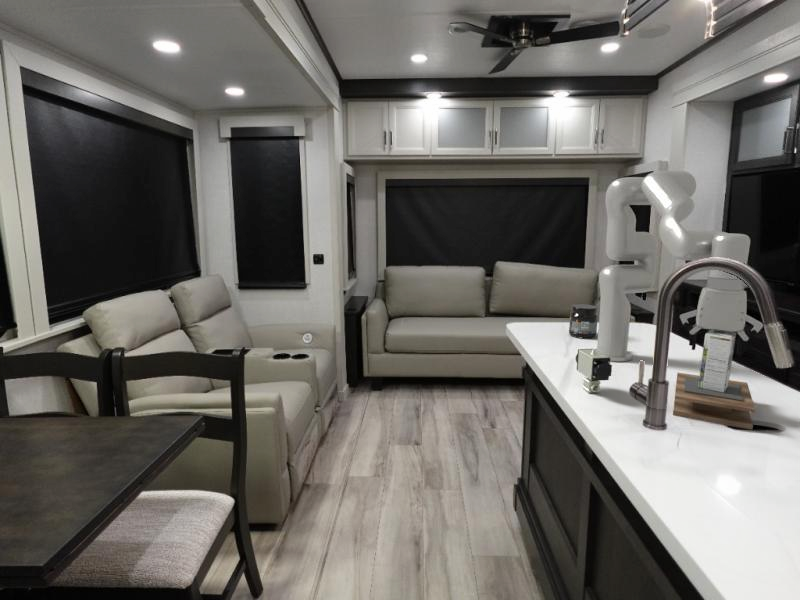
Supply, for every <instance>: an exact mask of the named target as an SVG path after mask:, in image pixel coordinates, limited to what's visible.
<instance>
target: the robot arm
mask: <svg viewBox="0 0 800 600" xmlns="http://www.w3.org/2000/svg"><path fill="white" fill-rule="evenodd" d="M696 190H697V180H696V178H695V176H694V175H693V174H692V173H690V172H688V171H685V170H658V171H652V172H650V173H648V174H647V175H646V176H644V177H643V176H642V177H641V176H639V177H638V176H631V177H629V176H627V177H621V178H618V179H615V180H613V181H612V182H611V183H610V184H609V185H608V187H607V189H606V193H605V209H606V213H607V214H606V215H607V224H606V225H607V226H606V240H605V241H606V243H605V253H606V256H607V258H608V259H610V260H611V261H617V262H619V261H621V262H622V261H623V262H626V261H627V262H628V261H629V262H631V261H632V262H634V264H612V265H608V266H606V267H604V268H602V269H601V271H600V272H599V275H598V282H599V283H598V284H599V292H600V304H599V305H600V306H599V316H598V329H597V331H598V332H597V346H596V348H594V349H595V350H596V351H598V352H600V353H604V354H606V356H607V357H609V358H610V362H628V361H631V360H632V357H633V355H632V354H631V353H630V352H629V351H628V346H629V334H630V332H629V331H630V322H631V311H632V310H631V304H630V303H631V302H630V300H629V299H628V297H627V296H626V294H637V293H639V294H640V293H647V292H649V291H650V290H652V289H653V286H654V284H655V281H656V273H657V260H658V241H657V239H656V237H655V236H654V235H653V234H652V233H650V232H647V231H636V224H637V218H636V214H635V213H634V211H633V209H632V208H631V206H634V205H635V206H652V207H653V208H654V210H655V211H656V212H657V214H658V215H659V216H660V217H661V218H660V221H659V225H658V233H659V235H658V236H659V238H660V241H661V243H662V244H663V246H664V247H665V248H666V250H667V251H668V252H669V254H670V255H671V256H672V257H674V258H675V259H677V260H680V261H687V262H688V261H700V260H699V259H703V258H709V257H725V258H731V259H734V260H738V261H740V262H742V263H745V264H746V265H747V266H748V259H749V253H750V246H751V238H750V236H748V235H747V234H744V233H734V232H733V233H731V232H730V233H728V232H725V231H721V230H686V229H685V228H684V227H683V225H682V223H681V222H683V221H684V220H686V219H687V218H688V217H689V216H690V215H691V214H692V213H693V211H694V208H695V203H694V199H692V196H694V194H695V192H696ZM746 288H749V287H748V286H747V285H746V284H745V283H744V282H743V281H742V280H740V279H739V278H737V277H736V276H734V275H731V274H729V273H726V272H723V271H719V270H709V269H708V272H707V281H706V286H705V287H702V289H701V291H700V295H699V298H698V302H697V303H698V304H697V309H693V310H691V311H687V312H685V313H682V314H680V315H679V319H680V321H681V323H682V326H683V327H684V328H685V329H686V330H687V332H688V333H689V334H690V335H689V341H688V342H689V343H688V346H689V347H690V346H691V350H693V351H695V350H696V347H697V340H698V332H699V331H700V330H701V329H704V330H710V329H711V330H720V331H729V332H733V333H736V334H737V335H739V338H738V341H737V346H736V355H737V356H738V357H742V353H745V352H746V346H747V341H749V340H750V339H751V338H753V337H755V336H756V335H758V333H759V332H760V331H761V329H763V328H764V324H763V323H762V322H761V321H759V320H757V319H755V318H754V317H752V316H750V315H748V314H747V304H748V303H747V301H748V299H747V295H748V294H747V291H746V290H745V289H746ZM693 317H695V324H694V325H691V323H689V321H688V319H690V318H693ZM746 322H748V323H749V324H751V325H752V326H753V328H751V329H750V330H748V331H745V327H746Z"/></svg>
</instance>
